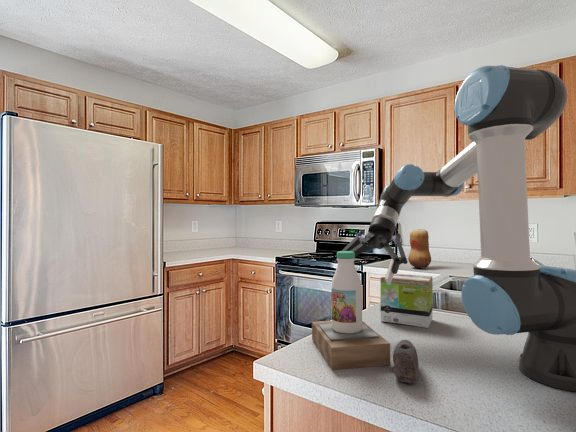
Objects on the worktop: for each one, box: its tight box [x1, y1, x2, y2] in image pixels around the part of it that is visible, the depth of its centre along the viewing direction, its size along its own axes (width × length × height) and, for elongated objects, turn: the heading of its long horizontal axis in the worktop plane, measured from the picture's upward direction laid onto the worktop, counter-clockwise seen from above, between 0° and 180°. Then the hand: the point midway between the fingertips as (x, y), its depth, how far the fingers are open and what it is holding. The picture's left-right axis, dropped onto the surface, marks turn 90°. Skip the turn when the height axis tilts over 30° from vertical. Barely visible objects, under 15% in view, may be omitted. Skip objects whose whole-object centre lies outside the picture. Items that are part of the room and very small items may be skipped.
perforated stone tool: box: [392, 339, 419, 385], centre depth 79 cm, size 15×5×7 cm, turn 161°
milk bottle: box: [330, 250, 363, 334], centre depth 92 cm, size 8×8×20 cm
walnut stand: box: [311, 320, 391, 371], centre depth 92 cm, size 20×14×5 cm
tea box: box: [379, 273, 434, 329], centre depth 117 cm, size 15×10×15 cm
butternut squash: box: [407, 228, 432, 269], centre depth 227 cm, size 14×13×25 cm
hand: (363, 279), depth 101 cm, fingers open, 13 cm apart
